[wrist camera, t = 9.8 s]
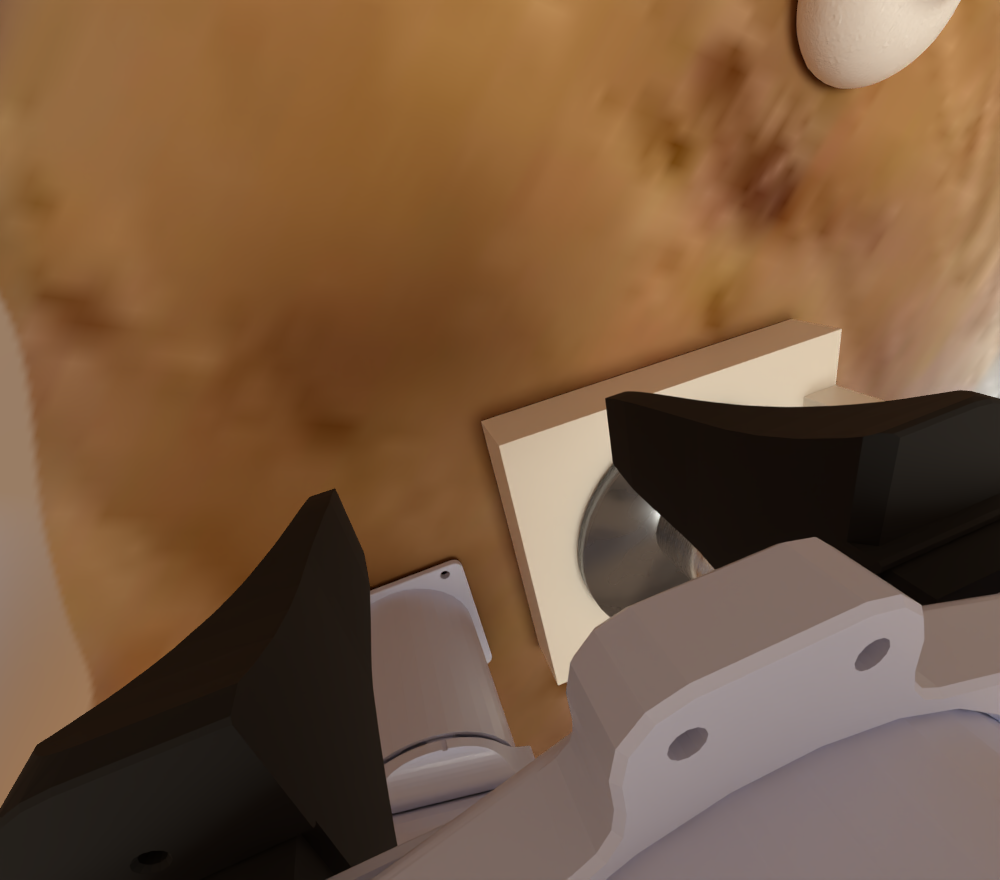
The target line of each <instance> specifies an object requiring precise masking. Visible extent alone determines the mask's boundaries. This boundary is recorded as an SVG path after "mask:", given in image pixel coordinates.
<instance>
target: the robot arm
mask: <svg viewBox="0 0 1000 880" xmlns="http://www.w3.org/2000/svg"><path fill="white" fill-rule="evenodd" d="M605 403H606V411H607V419H608V427H609V436H610V444H611V452H612V461H613V464H614V466H615V467H616V468H617V470H618V471H619V472H620V474H621V475H622V476H623V478H624V479H625V480H626V481H627V483H628V484H629V485H630V486H631V487H632V489H633V490H634V491H635V492H636V493H637V494H638V495H639V496H641V497H642V498H643V499H644V500H645V501H646V502H647V503H648V504H649V505H650V506H651V507H652V508H653V509H654V510H655V511H657V512H658V513H659V514H660V515H661V516H662V517H663V518H664V519H665V520H666V521H667V522H668V523H670V524H671V525H672V526H673V527H674V528H675V529H676V530H677V531H678V532H679V533H680V534H682V535H683V536H684V537H685V538H686V539H687V540H688V541H689V542H690V543H691V544H692V545H693V546H694V547H695V548H696V549H697V550H698V551H699V552H700V553H701V554H702V555H703V557H704V558H705V559H706V560H707V561H708V562H709V564H710V565H711V566H712V567H713V568H714V569H715V570H714V571H711V572H709V573H706V574H704V575H702V576H699V577H697V578H694V579H692V580H690V581H687V582H685V583H683V584H680V585H678V586H675V587H673V588H671V589H668V590H666V591H663V592H661V593H659V594H656V595H654V596H651V597H649V598H647V599H644V600H642V601H640V602H637V603H635V604H632V605H630V606H628V607H626V608H624V609H623V610H621V611H620V612H618V613H616V614H615V615H613V616H612V617H610V618H609V619H607V620H606V621H604V622H603V623H601V624H600V625H598V626H596V627H595V628H594V629H593V631H592V632H591V633H590V635H589V636H588V637H587V639H586V640H585V641H584V643H583V644H582V645H581V647H580V648H579V650H578V651H577V652H576V654H575V655H574V656H573V658H572V660H571V662H570V667H569V675H568V682H567V689H566V695H567V699H568V703H569V708H570V712H571V716H572V723H573V732H571V733H570V734H569V735H567V736H566V737H565V738H563V739H562V740H560V741H559V742H558V743H556V744H555V745H554V746H552V747H551V748H550V749H548V750H547V751H545V752H544V753H543V754H541V755H540V756H539V757H537V758H536V759H535V757H534V755H533V752H532V749H531V747H530V746H523V747H515V744H514V741H513V738H512V735H511V732H510V729H509V726H508V723H507V720H506V717H505V714H504V711H503V708H502V705H501V703H500V700H499V697H498V694H497V691H496V688H495V685H494V682H493V679H492V676H491V673H490V670H489V667H488V663H489V662H490V661H491V659H492V655H491V652H490V649H489V646H488V642H487V639H486V636H485V633H484V630H483V627H482V624H481V621H480V618H479V615H478V612H477V609H476V606H475V603H474V600H473V597H472V594H471V591H470V588H469V585H468V582H467V579H466V576H465V573H464V570H463V567H462V564H461V562H460V561H458V560H450V561H448V562H445V563H442V564H440V565H437V566H434V567H432V568H429V569H426V570H424V571H421V572H418V573H416V574H413V575H411V576H408V577H405V578H403V579H400V580H397V581H395V582H392V583H389V584H387V585H384V586H381V587H379V588H376V589H373V590H371V591H370V585H369V579H368V572H367V567H366V561H365V555H364V552H363V550H362V547H361V545H360V543H359V541H358V538H357V536H356V534H355V532H354V530H353V527H352V525H351V523H350V521H349V518H348V516H347V514H346V512H345V509H344V507H343V505H342V503H341V500H340V498H339V496H338V494H337V492H336V489H332V490H329V491H326V492H323V493H320V494H317V495H314V496H311V497H309V498H308V500H307V501H306V502H305V503H304V505H303V506H302V507H301V509H300V510H299V512H298V513H297V514H296V516H295V517H294V519H293V520H292V522H291V523H290V524H289V526H288V527H287V528H286V530H285V531H284V533H283V534H282V535H281V537H280V538H279V539H278V541H277V542H276V544H275V545H274V546H273V548H272V549H271V550H270V551H269V552H268V554H267V555H266V556H265V557H264V559H263V560H262V561H261V562H260V564H259V565H258V566H257V567H256V568H255V570H254V571H253V572H252V573H251V575H250V576H249V577H248V578H247V579H246V580H245V581H244V583H243V584H242V585H241V586H240V587H239V588H238V589H237V590H236V591H235V592H234V593H233V594H232V595H231V596H230V597H229V598H228V599H227V600H226V601H225V602H224V603H223V605H222V606H221V607H220V608H219V609H218V610H216V611H215V612H214V613H213V614H212V615H211V616H210V617H209V618H208V619H207V620H206V621H205V622H203V623H202V624H201V625H200V626H199V627H198V628H197V629H195V630H194V631H193V632H192V633H191V634H190V635H189V636H187V637H186V638H185V639H184V640H183V641H182V642H181V643H180V644H178V645H177V646H176V647H175V648H174V649H173V650H171V651H170V652H169V653H168V654H166V655H165V656H164V657H163V658H161V659H160V660H159V661H157V662H156V663H155V664H154V665H152V666H151V667H150V668H149V669H147V670H146V671H145V672H143V673H142V674H141V675H139V676H138V677H136V678H135V679H134V680H132V681H131V682H130V683H128V684H127V685H126V686H124V687H123V688H122V689H120V690H119V691H117V692H116V693H115V694H113V695H112V696H110V697H109V698H107V699H106V700H105V701H103V702H102V703H100V704H99V705H97V706H96V707H94V708H93V709H91V710H90V711H88V712H86V713H85V714H83V715H82V716H80V717H79V718H77V719H76V720H74V721H73V722H72V723H70V724H69V725H67V726H66V727H64V728H62V729H61V730H59V731H58V732H56V733H55V734H53V735H52V736H50V737H49V738H47V739H45V740H44V741H42V742H41V743H39V744H37V746H36V747H35V749H34V751H33V752H32V754H31V756H30V758H29V760H28V761H27V763H26V765H25V767H24V768H23V770H22V772H21V774H20V775H19V777H18V779H17V781H16V782H15V784H14V785H13V787H12V789H11V791H10V792H9V794H8V796H7V798H6V799H5V801H4V803H3V805H2V806H1V808H0V880H1000V399H999V398H995V397H991V396H987V395H984V394H980V393H976V392H972V391H962V390H959V391H952V392H945V393H939V394H932V395H926V396H919V397H913V398H906V399H900V400H892V401H882V402H872V403H863V404H851V405H837V406H811V407H773V406H749V405H736V404H727V403H717V402H709V401H701V400H694V399H687V398H680V397H674V396H667V395H661V394H654V393H646V392H636V391H625V392H622V393H619V394H616V395H613V396H610V397H607V398H605ZM443 571H448V572H447V573H446V574H443V575H442V574H441V573H442V572H443Z"/></svg>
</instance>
